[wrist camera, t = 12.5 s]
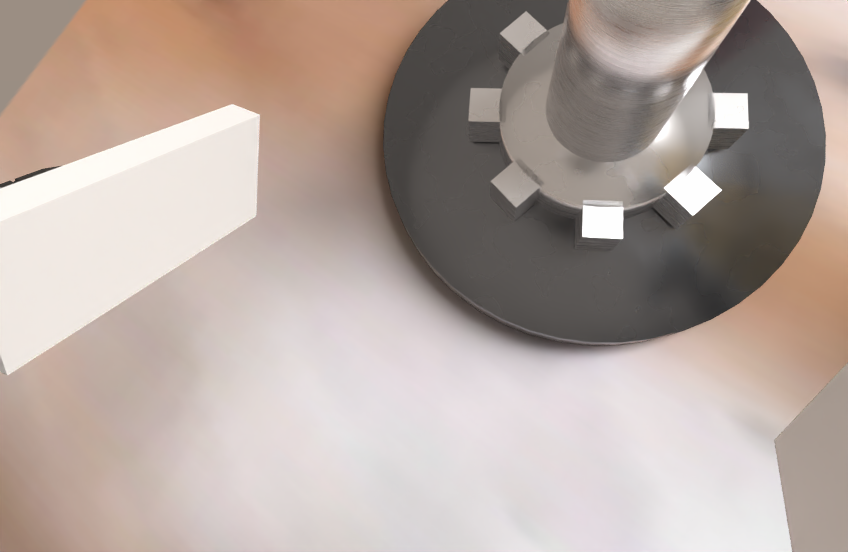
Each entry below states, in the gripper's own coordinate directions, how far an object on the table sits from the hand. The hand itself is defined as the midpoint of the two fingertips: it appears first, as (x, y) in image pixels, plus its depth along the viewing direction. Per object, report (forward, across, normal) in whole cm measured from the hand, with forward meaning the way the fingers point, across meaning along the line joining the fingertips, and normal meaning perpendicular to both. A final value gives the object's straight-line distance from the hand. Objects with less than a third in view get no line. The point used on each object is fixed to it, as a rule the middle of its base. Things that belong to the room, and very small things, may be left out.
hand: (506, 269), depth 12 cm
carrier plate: (+18, 0, -2) cm, 18 cm away
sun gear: (+16, 0, -1) cm, 16 cm away
